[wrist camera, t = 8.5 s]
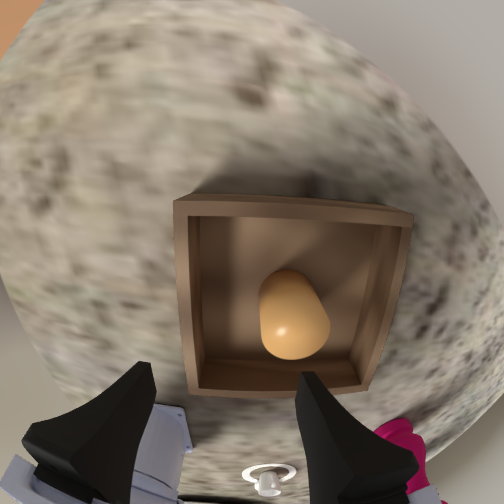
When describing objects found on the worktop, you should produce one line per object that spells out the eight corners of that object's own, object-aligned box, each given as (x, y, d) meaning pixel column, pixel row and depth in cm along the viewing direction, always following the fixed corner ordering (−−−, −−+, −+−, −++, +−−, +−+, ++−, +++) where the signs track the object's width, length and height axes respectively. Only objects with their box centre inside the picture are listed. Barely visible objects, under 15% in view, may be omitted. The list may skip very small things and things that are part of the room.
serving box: (351, 358, 23) (367, 390, 18) (197, 358, 22) (188, 394, 18) (382, 204, 19) (414, 214, 14) (190, 193, 18) (173, 200, 14)
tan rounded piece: (309, 318, 20) (324, 358, 16) (257, 318, 20) (259, 360, 15) (315, 269, 19) (335, 301, 14) (259, 268, 19) (263, 301, 14)
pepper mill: (416, 425, 27) (464, 525, 8) (374, 450, 29) (409, 553, 10) (404, 408, 26) (462, 528, 7) (356, 437, 27) (394, 561, 8)
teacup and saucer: (271, 485, 32) (273, 504, 28) (229, 476, 30) (228, 497, 27) (307, 465, 30) (310, 487, 26) (262, 456, 28) (263, 480, 24)
